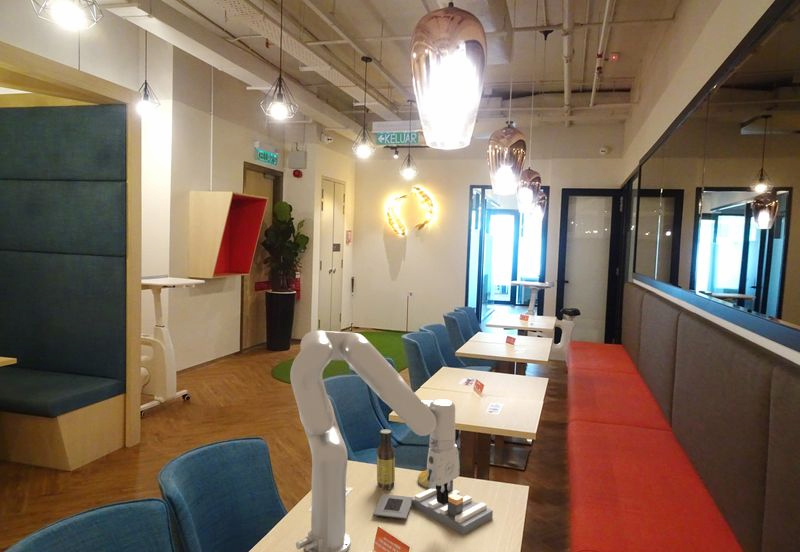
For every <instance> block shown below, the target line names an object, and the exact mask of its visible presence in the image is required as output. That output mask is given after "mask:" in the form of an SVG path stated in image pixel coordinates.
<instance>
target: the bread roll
mask: <svg viewBox="0 0 800 552" xmlns="http://www.w3.org/2000/svg"><path fill="white" fill-rule="evenodd" d="M417 482H418V484H419V485H422V487H425V488H428V489H430V488H429V481H428V480H427V469H425V470H422V471H420V473H419V474H418V475H417Z"/></svg>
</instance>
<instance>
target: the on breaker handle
mask: <svg viewBox="0 0 800 552" xmlns="http://www.w3.org/2000/svg"><path fill="white" fill-rule="evenodd" d="M453 484H454V480H452V481H451V483H450V489H449V490H448V493H450V492H452V491H454V485H453Z"/></svg>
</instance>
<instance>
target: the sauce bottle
mask: <svg viewBox="0 0 800 552" xmlns="http://www.w3.org/2000/svg"><path fill="white" fill-rule="evenodd" d="M379 436H380V442H379V443H380V444H379V446H378V447H377V451H376V480H377V481H376V482H377V483H376V485H377V487H378V488H379V489H381V490H391V489H393V488H394V487H395V480H396V478H395V477H396V473H395V470H396V469H395V468H396V466H395V464H396V458H395V457H396V456H395V448H394V446H393V445H392V430H391V429H380V431H379Z"/></svg>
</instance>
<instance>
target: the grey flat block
mask: <svg viewBox="0 0 800 552" xmlns="http://www.w3.org/2000/svg"><path fill="white" fill-rule="evenodd" d="M412 498H414V497H413V496H405V495H404V496H403V495H397V494H395V495H394V494H387V493H382V494H381V496H380V497H379V500H378V502H377V505H376V506H375V509H373V512H372V515H373V516H374V517H380V518H381V517H382V518H391V519H397V520H407V518H408V516H409V512H410V510H411V507H412V506H411V504H412Z"/></svg>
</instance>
